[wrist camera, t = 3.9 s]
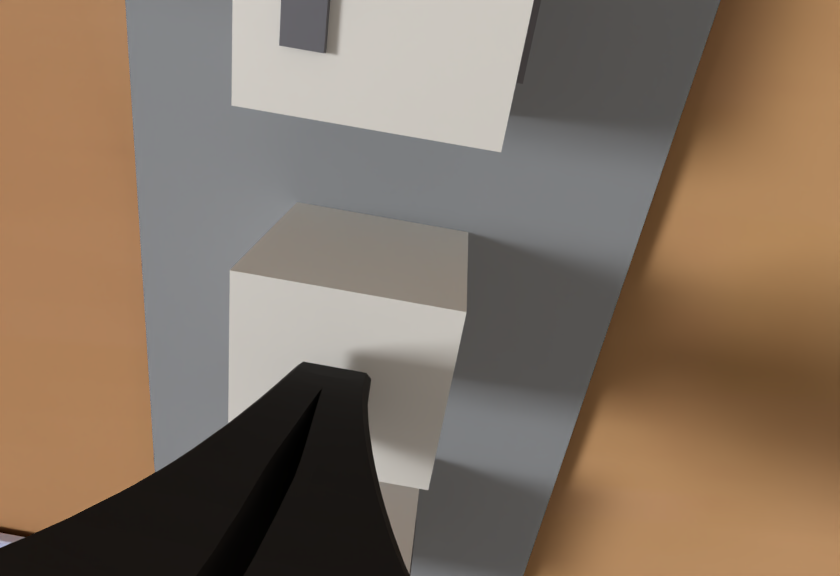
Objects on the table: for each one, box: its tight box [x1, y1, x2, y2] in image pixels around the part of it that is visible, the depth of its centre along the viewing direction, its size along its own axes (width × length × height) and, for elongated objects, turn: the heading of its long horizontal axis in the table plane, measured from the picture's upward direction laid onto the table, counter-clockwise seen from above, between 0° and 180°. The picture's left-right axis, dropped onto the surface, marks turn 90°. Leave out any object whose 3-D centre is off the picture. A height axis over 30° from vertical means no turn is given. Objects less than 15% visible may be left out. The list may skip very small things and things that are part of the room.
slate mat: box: [125, 0, 720, 576], centre depth 16 cm, size 22×13×1 cm, turn 171°
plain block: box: [228, 202, 468, 490], centre depth 14 cm, size 4×4×4 cm
